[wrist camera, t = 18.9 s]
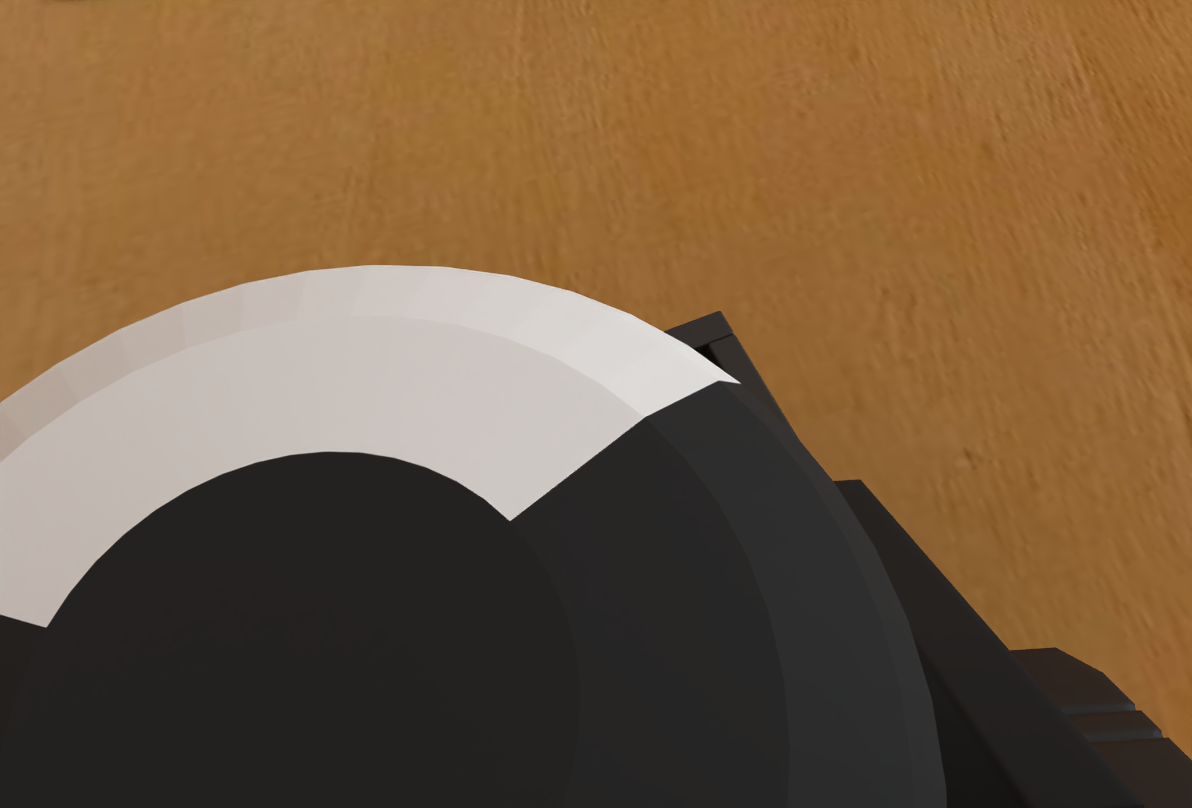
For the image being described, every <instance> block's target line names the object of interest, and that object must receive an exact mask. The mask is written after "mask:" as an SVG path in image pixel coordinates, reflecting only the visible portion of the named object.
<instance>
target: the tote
mask: <svg viewBox="0 0 1192 808" xmlns="http://www.w3.org/2000/svg"><path fill="white" fill-rule="evenodd" d="M664 333H666V334H668V335H670V336H671V337H673V338H675V339H677V340H679V341H681V342H683V343H684V344H686V345H688V346H689V347H691V348H692V349H694V350H695V351H696V352H698V353H699V354H701V355H702V356H703V357H705V358H706V359H708V360H709V361H710V362H712V363H713V364H714V365H716V366H717V367H719V368H720V369H721V370H723V371H724V372H726V373H727V374H728V375H730V376H731V377H733V378H734V379H735V380H737V381H738V382H740V383H741V384H742V385H743V386H744V387H745V388H746V389H747V390H749V391H750V392H751V393H752V394H753V395H754V396H755V397H756V398H757V399H758V400H759V401H760V402H761V403H762V404H763V405H765V406H766V407H767V408H768V409H769V410H770V411H771V412H772V413H773V414H774V415H775V416H776V417H777V418H778V419H780V420H781V421H782V422H783V423H784V424H785V425H786V426H787V427H788V428H789V429H790V430H791V431H792V432H793V433H794V434H795V432H794V431H793V429H792V427H791V426H790V424H789V422H788V421H787V419H786V418H785V416H784V414H783V413H782V411H781V409H780V408H779V406H778V404H777V403H776V401H775V399H774V398H773V396H772V395H771V393H770V391H769V390H768V388H767V386H766V385H765V383H764V381H763V380H762V378H761V376H760V375H759V373H758V372H757V370H756V368H755V367H754V365H753V363H752V362H751V360H750V358H749V357H748V355H747V353H746V352H745V350H744V349H743V347H742V345H741V344H740V342H739V340H738V339H737V337H736V336H735V335H733V330H732V329H731V327H730V325H729V324H728V322H727V321H726V319H725V317H724V316H723V314H722V312H721V311H717V312H715V313H712V314H709V315H707V316H704V317H701V318H699V319H696V320H693V321H691V322H688V323H685V324H683V325H680V326H677V327H675V328H672V329H669V330H667V331H664ZM795 436H796V434H795ZM796 437H797V436H796ZM797 438H798V437H797ZM799 441H800V440H799Z"/></svg>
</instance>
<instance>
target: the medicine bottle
mask: <svg viewBox="0 0 1192 808" xmlns="http://www.w3.org/2000/svg"><path fill="white" fill-rule="evenodd" d="M0 808H947V796H946V783H945V777H944V770H943V764H942V758H941V752H940V746H939V740H938V733H937V727H936V721H935V715H934V709H933V703H932V698H931V695H930V691H929V688H928V685H927V681H926V678H925V675H924V671H923V668H922V665H921V661H920V658H919V655H918V652H917V648H916V645H915V642H914V638H913V635H912V632H911V628H910V625H909V622H908V619H907V617H906V614H905V612H904V610H903V608H902V606H901V603H900V601H899V599H898V597H897V595H896V592H895V590H894V588H893V586H892V584H891V581H890V579H889V577H888V575H887V572H886V570H885V568H884V566H883V564H882V561H881V559H880V557H879V555H878V553H877V550H876V548H875V547H874V545H873V543H872V542H871V540H870V539H869V537H868V535H867V534H866V532H865V531H864V529H863V527H862V526H861V524H860V523H859V521H858V519H857V518H856V516H855V514H854V513H853V511H852V510H851V508H850V506H849V505H848V503H847V502H846V500H845V498H844V497H843V495H842V494H841V492H840V490H839V489H838V487H837V486H836V484H835V483H834V482H833V481H832V479H831V478H830V477H829V476H828V475H827V473H826V472H825V471H824V470H823V468H822V467H821V466H820V465H819V464H818V462H817V461H816V460H815V459H814V458H813V456H812V455H811V454H810V453H809V451H808V450H807V449H806V448H805V447H804V445H803V444H802V443H801V442H800V441H799V439H798V438H797V437H796V436H795V434H794V433H793V432H792V431H791V430H790V429H789V428H788V427H787V426H786V425H785V424H784V423H783V422H782V421H781V420H780V419H778V418H777V417H776V416H775V415H774V414H773V413H772V412H771V411H770V410H769V409H768V408H767V407H766V406H765V405H763V404H762V403H761V402H760V401H759V400H758V399H757V398H756V397H755V396H754V395H753V394H752V393H751V392H750V391H749V390H747V389H746V388H745V387H744V386H743V385H742V384H741V383H740V382H738V381H737V380H735V379H734V378H733V377H731V376H730V375H728V374H727V373H726V372H724V371H723V370H721V369H720V368H719V367H717V366H716V365H714V364H713V363H712V362H710V361H709V360H708V359H706V358H705V357H703V356H702V355H701V354H699V353H698V352H696V351H695V350H694V349H692V348H691V347H689V346H688V345H686V344H684V343H683V342H681V341H679V340H677V339H675V338H673V337H671V336H670V335H668V334H666V333H664V332H662V331H660V330H659V329H657V328H655V327H653V326H651V325H649V324H647V323H646V322H644V321H642V320H640V319H638V318H636V317H635V316H633V315H631V314H628V313H626V312H623V311H621V310H618V309H615V308H613V307H610V306H608V305H605V304H603V303H600V302H598V301H595V300H592V299H590V298H587V297H585V296H582V295H580V294H577V293H574V292H572V291H568V290H564V289H560V288H556V287H552V286H549V285H545V284H541V283H537V282H533V281H529V280H525V279H521V278H518V277H514V276H509V275H501V274H494V273H487V272H479V271H472V270H464V269H457V268H450V267H434V266H387V265H368V266H356V267H345V268H334V269H323V270H312V271H305V272H300V273H295V274H290V275H285V276H280V277H275V278H270V279H265V280H260V281H255V282H249V283H245V284H241V285H238V286H235V287H232V288H228V289H225V290H222V291H219V292H216V293H212V294H209V295H206V296H203V297H199V298H196V299H193V300H190V301H187V302H183V303H180V304H178V305H176V306H173V307H171V308H169V309H166V310H164V311H162V312H159V313H157V314H155V315H152V316H150V317H148V318H145V319H143V320H141V321H138V322H136V323H133V324H131V325H129V326H126V327H124V328H122V329H119V330H117V331H116V332H114V333H112V334H110V335H108V336H106V337H105V338H103V339H101V340H99V341H97V342H96V343H94V344H92V345H90V346H88V347H86V348H85V349H83V350H81V351H79V352H77V353H76V354H74V355H72V356H70V357H68V358H66V359H65V360H63V361H61V362H59V363H57V364H56V365H54V366H53V367H51V368H50V369H49V370H47V371H46V372H44V373H43V374H41V375H40V376H38V377H37V378H35V379H34V380H32V381H31V382H30V383H28V384H27V385H25V386H24V387H22V388H21V389H19V390H18V391H16V392H15V393H14V394H12V395H11V396H9V397H8V398H6V399H5V400H3V401H2V402H0Z"/></svg>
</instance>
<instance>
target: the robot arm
mask: <svg viewBox="0 0 1192 808" xmlns="http://www.w3.org/2000/svg"><path fill="white" fill-rule="evenodd" d="M833 482H834V483H835V484H836V486H837V487H838V489H839V490H840V492H841V494H842V495H843V497H844V498H845V500H846V502H847V503H848V505H849V506H850V508H851V510H852V511H853V513H854V514H855V516H856V518H857V519H858V521H859V523H860V524H861V526H862V527H863V529H864V531H865V532H866V534H867V535H868V537H869V539H870V540H871V542H872V543H873V545H874V547H875V548H876V550H877V553H878V555H879V557H880V559H881V561H882V564H883V566H884V568H885V570H886V572H887V575H888V577H889V579H890V581H891V584H892V586H893V588H894V590H895V592H896V595H897V597H898V599H899V601H900V603H901V606H902V608H903V610H904V612H905V614H906V617H907V619H908V622H909V625H910V628H911V632H912V635H913V638H914V642H915V645H916V648H917V652H918V655H919V658H920V661H921V665H922V668H923V671H924V675H925V678H926V681H927V685H928V688H929V691H930V695H931V698H932V703H933V709H934V715H935V721H936V727H937V733H938V740H939V746H940V752H941V758H942V764H943V770H944V777H945V783H946V796H947V808H1192V760H1191V759H1190V758H1189V757H1188V756H1187V755H1186V754H1185V753H1184V752H1183V751H1181V750H1180V749H1179V748H1178V747H1177V746H1176V745H1175V744H1174V743H1173V742H1172V741H1171V740H1170V739H1169V738H1163V736H1162V732H1161V730H1160V729H1159V728H1158V727H1157V726H1156V725H1155V724H1154V723H1153V722H1152V721H1151V720H1150V719H1149V718H1148V717H1147V716H1146V715H1145V714H1144V713H1143V712H1142V711H1141V710H1139V711H1136V710H1135V704H1134V703H1133V702H1132V701H1131V700H1130V699H1129V698H1128V697H1127V696H1126V695H1125V694H1124V693H1123V692H1122V691H1121V690H1120V689H1119V688H1118V687H1117V686H1116V685H1115V684H1114V683H1113V682H1112V681H1111V680H1110V679H1109V678H1108V677H1107V676H1106V675H1105V674H1104V673H1102V672H1100V671H1099V670H1097V669H1095V668H1093V667H1091V666H1089V665H1087V664H1085V663H1084V662H1082V661H1080V660H1078V659H1076V658H1074V657H1072V656H1070V655H1069V654H1067V653H1065V652H1063V651H1061V650H1059V649H1057V648H1042V649H1026V650H1011V651H1009V649H1008V648H1007V647H1006V646H1005V645H1004V644H1003V643H1002V641H1001V640H1000V639H999V638H998V637H997V636H996V635H995V633H994V632H993V631H992V630H991V629H990V628H989V627H988V625H987V624H986V623H985V622H984V621H983V620H982V619H981V617H980V616H979V615H978V614H977V613H976V612H975V610H974V609H973V608H972V607H971V606H970V605H969V604H968V602H967V601H966V600H965V599H964V598H963V597H962V596H961V594H960V593H959V592H958V591H957V590H956V589H955V588H954V586H953V585H952V584H951V583H950V582H949V581H948V580H947V578H946V577H945V576H944V575H943V574H942V573H941V571H940V570H939V569H938V568H937V567H936V566H935V565H934V563H933V562H932V561H931V560H930V559H929V558H928V557H927V555H926V554H925V553H924V552H923V551H922V550H921V549H920V547H919V546H918V545H917V544H916V543H915V542H914V541H913V539H912V538H911V537H910V536H909V535H908V534H907V533H906V531H905V530H904V529H903V528H902V527H901V526H900V524H899V523H898V522H897V521H896V520H895V519H894V518H893V516H892V515H891V514H890V513H889V512H888V511H887V510H886V508H885V507H884V506H883V505H882V504H881V503H880V502H879V500H878V499H877V498H876V497H875V496H874V495H873V494H872V492H871V491H870V490H869V489H868V488H867V487H866V486H865V484H864V483H863V482H862V481H861V480H845V481H833Z"/></svg>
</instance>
